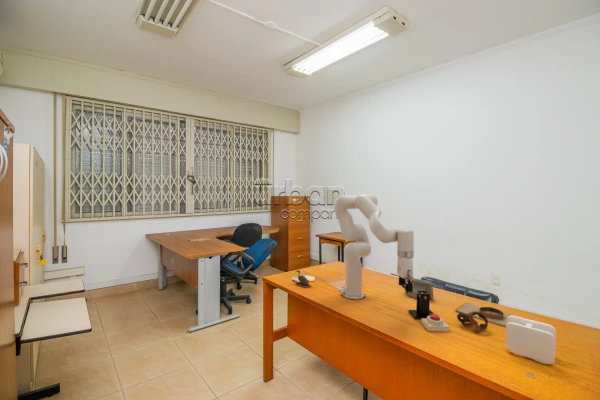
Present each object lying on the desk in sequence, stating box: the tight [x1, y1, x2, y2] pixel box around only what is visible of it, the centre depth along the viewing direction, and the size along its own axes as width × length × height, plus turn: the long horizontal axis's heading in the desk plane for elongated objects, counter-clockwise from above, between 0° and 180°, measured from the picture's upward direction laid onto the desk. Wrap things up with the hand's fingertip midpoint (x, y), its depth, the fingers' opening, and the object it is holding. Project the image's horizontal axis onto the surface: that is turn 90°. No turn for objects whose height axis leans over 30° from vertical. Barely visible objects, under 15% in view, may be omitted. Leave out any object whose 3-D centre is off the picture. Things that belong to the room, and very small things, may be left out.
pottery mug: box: [456, 311, 489, 334], centre depth 127 cm, size 12×10×8 cm
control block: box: [420, 315, 450, 333], centre depth 128 cm, size 9×8×4 cm
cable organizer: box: [504, 314, 557, 365], centre depth 107 cm, size 15×11×12 cm
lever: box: [401, 284, 423, 297], centre depth 139 cm, size 12×5×2 cm, turn 89°
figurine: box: [294, 270, 312, 289], centre depth 186 cm, size 14×4×9 cm, turn 38°
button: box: [431, 313, 440, 321], centre depth 128 cm, size 4×4×2 cm
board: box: [455, 302, 512, 328], centre depth 140 cm, size 25×15×3 cm, turn 41°
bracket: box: [408, 290, 435, 320], centre depth 140 cm, size 11×8×12 cm
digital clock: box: [405, 277, 434, 299], centre depth 165 cm, size 16×9×11 cm, turn 39°
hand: (405, 288), depth 139 cm, fingers open, 9 cm apart
